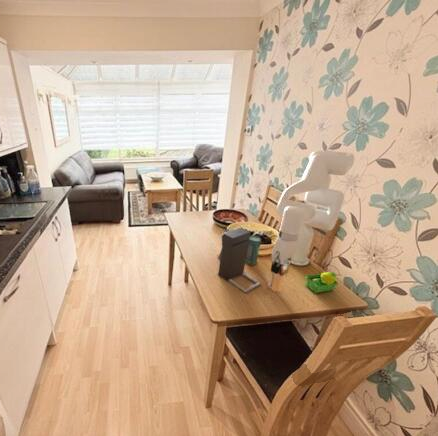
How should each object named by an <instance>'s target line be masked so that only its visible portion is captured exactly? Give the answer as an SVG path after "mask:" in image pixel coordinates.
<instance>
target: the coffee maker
mask: <svg viewBox="0 0 438 436" xmlns="http://www.w3.org/2000/svg"><path fill="white" fill-rule="evenodd" d="M222 233H223V239H222V238H221V242H222V241H223V245H222V244H221V249H222V252H221V251H220V252H221V259H219V267H218V274H217V275H218V276H219V277H221V278H222V279H224V281H227V282H228V281H229V283H231V284H232V285H234V286H235V287H237V288H238V289H239V290H241V291H242V292H244V293H248V292H249V291H251V290H253V289H255V288H257V287H259V286H260V285H261V282H260V281H258V280H257V279H255V278H254V277H251V276H250V275H249V274H247V273H245V267H246V263H245V261H246V256H247V251H248V245H249V237H250V236H251V231H249V230H247V229H246V228H245V229H244V228H243V227H239V228H235V229H232V230H231V231H230V230H229V232H226V233H224V232H222ZM241 275H242V276H243V277H245V278H247V279H248V280H250V281H251V282H252V283H254V284H253V285H250V286H249V287H247V288H245V287H243V286H242V285H240V284H239V283H238V282H236V281H235V280H233V279H234V278H236V277H239V276H241Z"/></svg>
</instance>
